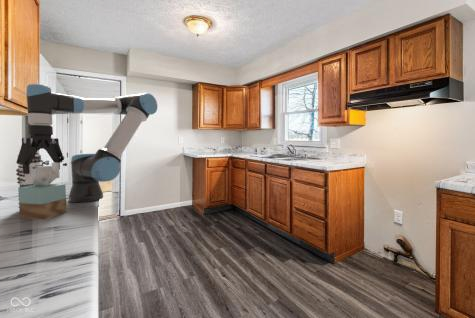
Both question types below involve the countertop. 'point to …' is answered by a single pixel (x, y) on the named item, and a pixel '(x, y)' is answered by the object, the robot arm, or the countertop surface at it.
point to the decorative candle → (21, 179)
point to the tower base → (42, 209)
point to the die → (43, 175)
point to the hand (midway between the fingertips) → (43, 180)
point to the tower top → (41, 193)
